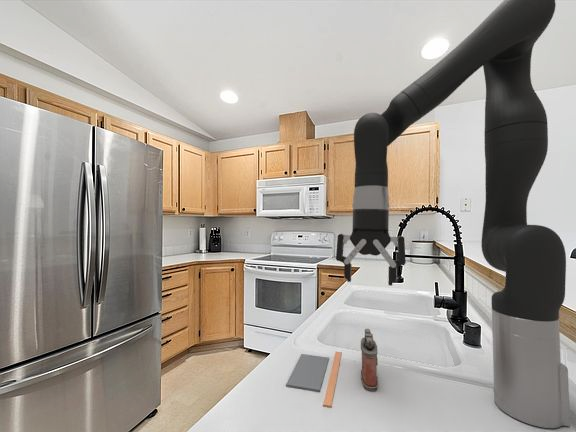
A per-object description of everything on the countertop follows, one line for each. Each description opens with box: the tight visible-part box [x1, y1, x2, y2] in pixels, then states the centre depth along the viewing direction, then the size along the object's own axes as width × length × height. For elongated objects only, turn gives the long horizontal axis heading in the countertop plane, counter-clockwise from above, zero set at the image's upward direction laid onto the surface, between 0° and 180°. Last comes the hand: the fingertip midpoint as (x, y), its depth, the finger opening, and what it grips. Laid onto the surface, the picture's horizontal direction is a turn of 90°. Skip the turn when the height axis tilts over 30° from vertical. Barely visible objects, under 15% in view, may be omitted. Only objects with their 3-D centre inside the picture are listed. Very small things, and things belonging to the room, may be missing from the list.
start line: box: [322, 351, 342, 408], centre depth 60 cm, size 2×22×1 cm, turn 164°
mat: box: [285, 353, 330, 393], centre depth 61 cm, size 7×14×1 cm, turn 164°
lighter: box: [360, 328, 379, 393], centre depth 58 cm, size 8×3×10 cm, turn 168°
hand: (369, 283), depth 59 cm, fingers open, 8 cm apart
